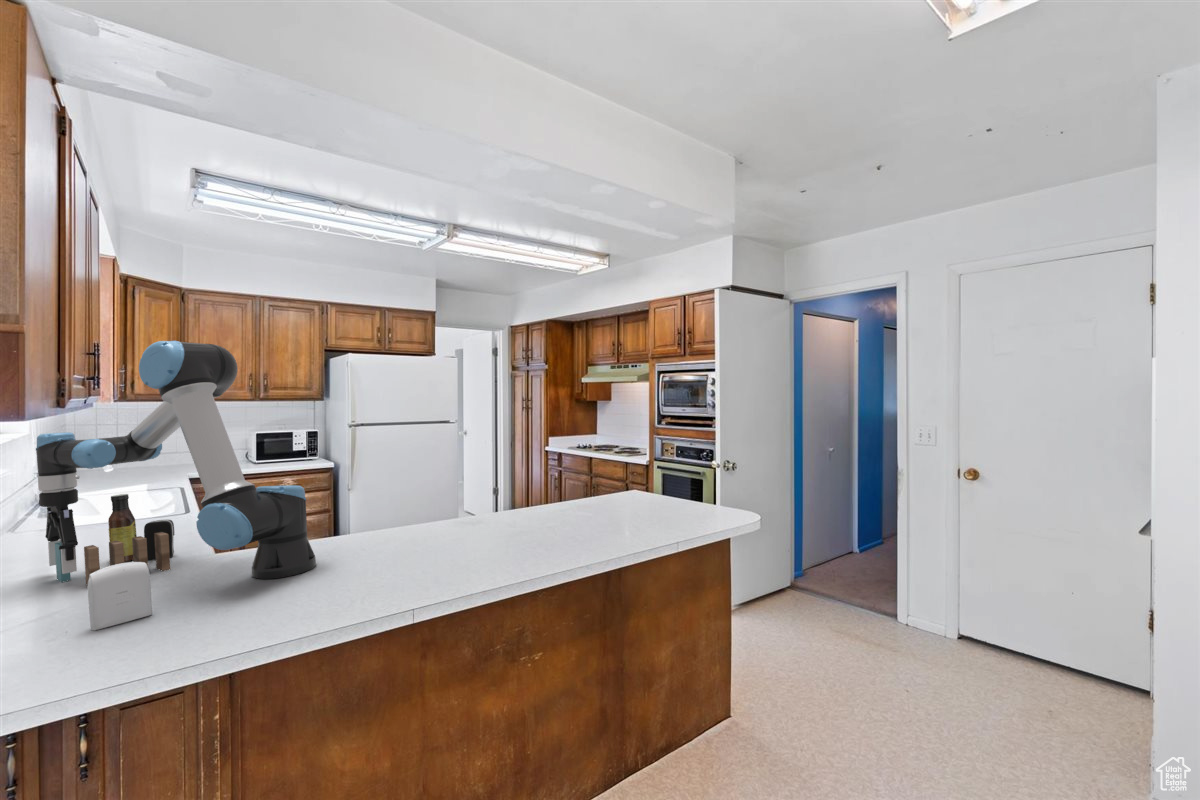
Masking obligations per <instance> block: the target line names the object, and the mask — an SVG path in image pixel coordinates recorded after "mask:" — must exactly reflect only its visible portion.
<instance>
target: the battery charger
mask: <svg viewBox="0 0 1200 800" xmlns="http://www.w3.org/2000/svg"><path fill="white" fill-rule="evenodd" d="M159 532H164V533H167V534H169V552H170V558H173V557H174V556H175V550H174V536H175V535H176V534H175V523H174V521H173V520H171V519H159V520H151V521H149V522H147V523H146V524H145V525H144V526H143V537H144V538H146V539H147V557H148V561H153V560H156V555H155V537H154V533H159Z"/></svg>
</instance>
